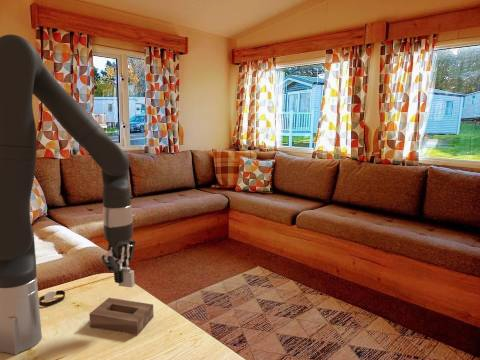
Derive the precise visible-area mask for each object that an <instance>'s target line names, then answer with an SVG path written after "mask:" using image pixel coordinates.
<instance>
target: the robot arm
mask: <svg viewBox="0 0 480 360" xmlns="http://www.w3.org/2000/svg"><path fill="white" fill-rule="evenodd" d="M33 96H34V97H36V98H37V99H38V100H39V102H41V103H42V104H43V106H44V107H45V108H46V109H47V110H48V111H49V112H50V114H51V115H52V116H53V118H54V119H55V121H57V122H58V123H59V125H60V126H61V127H62V128H63V129H64V130H65V131H66V132H67V133H68V135H70V137H71V138H72V139H73V140H74V141H75V142H76V143H77V144H79V146H81V148H83V149H84V150H85V151H86V152H87V153H88V155H89V156H90V157H91V158H92V159H93V161H94V162H95V163H96V165H98V166H99V168H101V176H102V177H101V178H102V186H103V187H102V204H103V207H102V208H103V210H102V212H103V213H102V220H103V235H104V236H103V237H104V239H105V241H106V242H107V243H108V244H107V245H108V246H107V253H106V254H103V255H102V256H101V260H102V262H103V263H104V265H105V267H106V269H107V270H108V271H109V272H113V271H114V272H113V278H114V279H113V280H114V282H115V283H116V284H119V283H122V282H123V270H122V268H123V267H129V265H130V262H132V261H133V256H134V252H135V251H134V250H135V247H136V240H133V236H134V226H133V225H134V224H133V223H134V221H133V219H134V218H133V210H132V209H133V208H132V200H131V189H130V185H129V168H130V158H129V156H128V154H127V152H125V150H123V149H122V148H121V147H120V146H119V145H118V144H117V143H116V142H115V141H114V140H113V139H112V138H111V137H110V136H109V135H108V134H107V132H106V131H105V130H104V128H103V127H102V126H101V125H100V124H99V122H98V121H97V120H96V119H95V118H94V117H93V116H92V115H91V114H90V113H89V112H88V110H87V109H85V107H83V106H82V105H81V104H80V103H79V102H78V101H77V100H76V99H75V98H74V97H73V96H72V95H71V94H69V92H67V90H66V89H65V88H64V87H63V86H62V85H61V84H60V83H59V82H58V81H57V79H56V78H55V77H54V75H53V74H52V73H51V70H49V68H48V67H47V65H46V63H44V61H43V59H42V58H41V55H40V53H39V51H38V50H37V49H36V47H35V46H34V45H33V44H32V43H31V42H30V41H28V40H27V39H25V38H24V37H22V36H20V35H17V34H11V33H9V34H5V35H2V36H0V352H2V353H7V354H12V355H18V354H19V353H21V352H23V351H27V350H29V349H30V348H32V347H35V346H36V345H37V344H38V343H39V342H40V341H42V337H43V336H42V334H43V333H42V323H41V313H40V312H41V311H40V305H39V298H40V297H39V288H38V277H37V275H38V274H37V260H36V259H37V258H36V248H35V244H36V243H35V235H34V227H33V225H32V223H31V213H30V211H31V210H30V207H31V206H30V203H31V196H32V190H33V186H34V180H35V175H36V174H35V173H36V165H37V155H38V153H37V151H38V149H37V148H38V139H37V138H38V137H37V128H36V120H35V116H34V115H35V114H34V110H33ZM131 239H132V240H131ZM116 263H118V266H117V264H116Z"/></svg>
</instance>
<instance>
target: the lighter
mask: <svg viewBox="0 0 480 360" xmlns="http://www.w3.org/2000/svg"><path fill="white" fill-rule="evenodd" d="M116 264H117V266H118V263H116ZM122 270H123V282H122V283H118V287H126V288H133V287H134V286H136V285H135V270H133V269H131V268H130V266H127V267H123V268H122ZM112 272H113V273H114V271H112Z"/></svg>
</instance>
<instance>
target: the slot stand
mask: <svg viewBox="0 0 480 360" xmlns="http://www.w3.org/2000/svg"><path fill="white" fill-rule="evenodd" d="M154 316H155V315H154V304H153V303H152V304H151V303H147V302H140V301H133V300H126V299H120V298H114V297H108V298H107V299H105V300H104V301H103V302H102V303H100V304H99V305H97V307H96V308H95V309H93V310H91V311H90V313H89V327H90V328H94V329H101V330H105V331H111V332H119V333H122V334H128V335H133V336H139V334H140V333H141V332H142V331H143V330H144V329H145V328H146V326H147V325H148V324H149V322H151V321H152V319H154Z"/></svg>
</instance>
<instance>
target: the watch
mask: <svg viewBox="0 0 480 360" xmlns="http://www.w3.org/2000/svg"><path fill="white" fill-rule="evenodd" d="M60 295H62V296H61V297H59V298H56V299H54V298H55V297H56V296H60ZM65 296H66V292H65V290H56V291H55V290H50V289H49V290H48V291H47V292H45V294H44V295H42V296H40V297H38V298H39V307H40V306H41V307H50V306H53V305H56V304H58V303H60V302H62V301H64V300H65V298H66V297H65ZM53 299H54V300H53ZM50 300H51V301H50ZM45 301H46V302H45Z"/></svg>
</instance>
